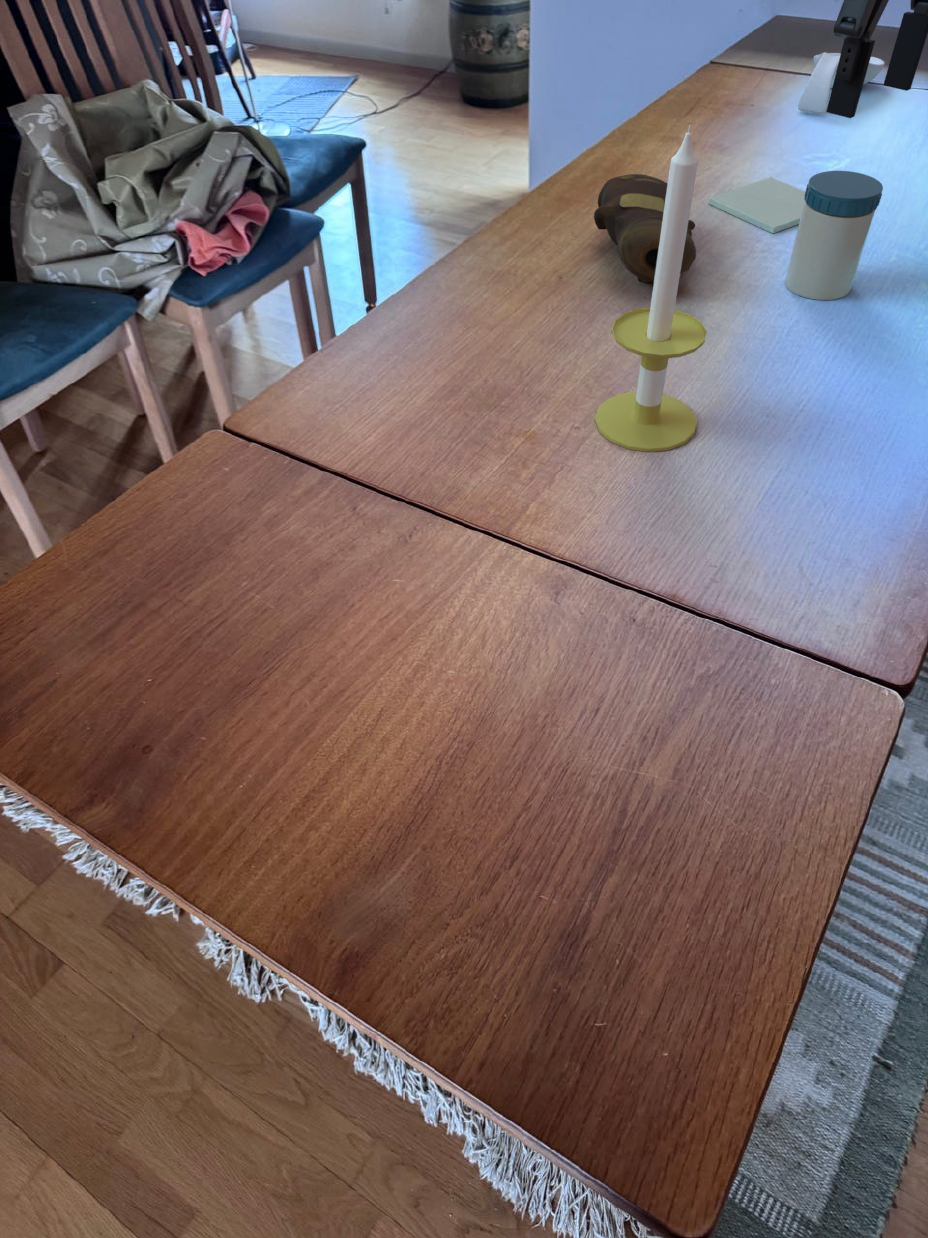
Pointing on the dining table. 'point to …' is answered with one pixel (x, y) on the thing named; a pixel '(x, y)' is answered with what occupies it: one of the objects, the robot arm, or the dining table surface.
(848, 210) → the lid
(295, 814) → the dining table surface
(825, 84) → the spoon rest
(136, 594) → the dining table surface
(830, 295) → the jar
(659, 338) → the candle
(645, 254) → the pottery vessel
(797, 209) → the tile
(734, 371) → the dining table surface
